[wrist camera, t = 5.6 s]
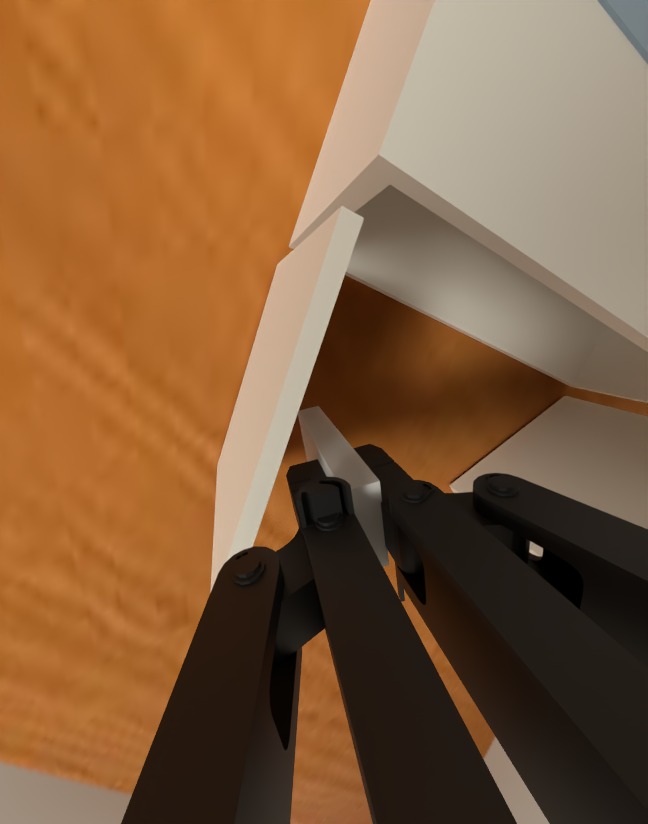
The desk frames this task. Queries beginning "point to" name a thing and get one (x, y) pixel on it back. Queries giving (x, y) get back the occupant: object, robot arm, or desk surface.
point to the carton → (502, 177)
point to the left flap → (278, 380)
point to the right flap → (578, 458)
